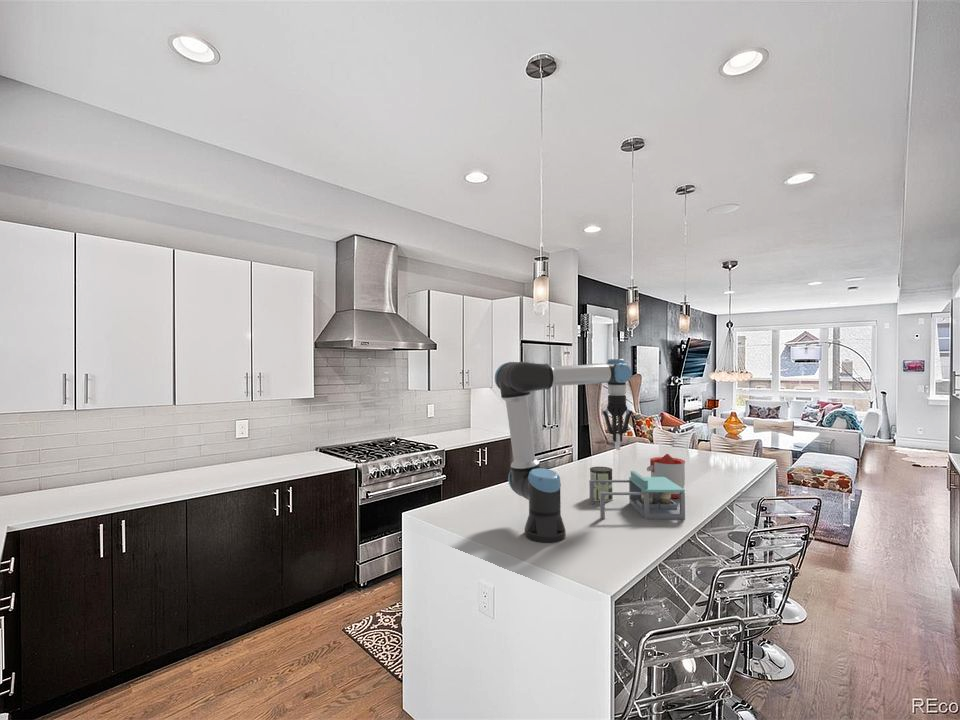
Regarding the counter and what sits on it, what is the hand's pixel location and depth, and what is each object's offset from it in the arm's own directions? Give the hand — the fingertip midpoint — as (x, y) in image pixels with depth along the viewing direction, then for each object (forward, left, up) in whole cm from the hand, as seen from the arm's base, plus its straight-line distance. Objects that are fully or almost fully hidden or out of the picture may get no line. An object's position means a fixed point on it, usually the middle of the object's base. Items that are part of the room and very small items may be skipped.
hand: (617, 449), depth 202 cm
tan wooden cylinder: (-1, -20, -24) cm, 31 cm away
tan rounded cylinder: (-1, -12, -24) cm, 27 cm away
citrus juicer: (+23, -29, -27) cm, 46 cm away
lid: (0, -16, -16) cm, 22 cm away
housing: (0, -7, -26) cm, 27 cm away
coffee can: (+18, +3, -27) cm, 32 cm away
